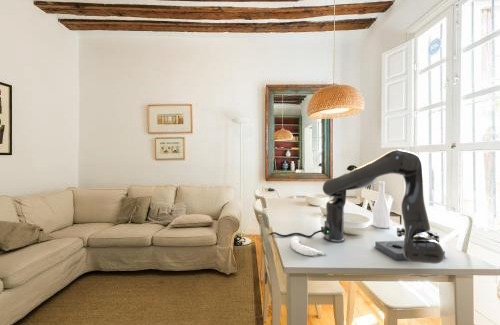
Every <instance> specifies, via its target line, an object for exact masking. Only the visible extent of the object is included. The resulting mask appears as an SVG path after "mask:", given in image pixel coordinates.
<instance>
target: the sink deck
mask: <svg viewBox="0 0 500 325" xmlns="http://www.w3.org/2000/svg"><path fill="white" fill-rule="evenodd" d="M374 243H375V244H374V248H375V249H377V250H378V251H380V252H382V253H384V254H386V255H387V256H389V257H391V258H392V259H393V260H395V261H408V260H407V259H406V258H405V256H404V254H403V244H404V240H385V241H375V242H374ZM443 251H444V259H445V257H446V252H445V250H443Z"/></svg>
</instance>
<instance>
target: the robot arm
mask: <svg viewBox="0 0 500 325" xmlns="http://www.w3.org/2000/svg"><path fill="white" fill-rule="evenodd" d="M389 174H391V175H393V174H394V175H399V176H402V177H403V179H404V183H405V190H404V191H405V192H404V195H403V198H402V201H401V216H402V221H403V225H404V226H403V227H401V228H400V227H396V236H397V237H398V238H399V237H400V238H401V237H404V238H403V241H404V244H403V254H404V256H405V258H406V259H407V260H406V261H408V262H410V263H416V264H417V263H418V264H434V265H436V264H441V263H442V262H443V261H444V260H445V258H444V251H445V250H444V249H443V247H442V246H441V244H440V234H439V233H438V232H434V233H433V232H432V231H430V230H431V225H430V222H429V217H428V213H427V208H426V203H425V197H424V181H423V180H424V179H423V178H424V176H423V163H422V159H421V157H420V156H419V155H418V154H416V153H415V152H411V151H407V150H404V149H403V150H402V149H394V150H390V151H388V152H386V153H385V154H383V155H381V156H380V157H378V158H376V159H374V160H372V161H370V162H368V163H366V164H364V165H362V166H358V167H357V168H356V167H355V168H354V169H351V170H350V171H348V172H346V173H344V174H341V175H339V176H337V177H333V178H331V179H330V178H329V179H327V180H326V181H324V183H323V185H322V192H323V193H324V194H325V195H326V196H328V197H332V198H331V200H328V201H327V202H326V205H325V220H324V226H321V227H320V230H316V231H315V232H313V233H312V234H310V235H306V234H305V233H301V232H291V233H287V234H280V233H278V232H276V231H271V232H270V233H269V236H272V235H277V236H279V237H283V238H286V237H290V236H297V235H298V236H299V235H300V236H302V237H304V238H312V237H314V236H315V235H316V234H319V233H322V234H323V238H324V239H326V240H327V241H328V242H334V243H342V242H344V240H345V238H344V235H345V205H346V201H347V191H352V190H358V189H364V188H366V187H369V186H371V185H373V184H374V183H375V182H376V181H377V179H378V178H379V177H381V176H386V175H389ZM267 284H268V272H265V273H264V285H267Z"/></svg>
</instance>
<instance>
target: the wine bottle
mask: <svg viewBox="0 0 500 325" xmlns="http://www.w3.org/2000/svg"><path fill="white" fill-rule="evenodd" d="M385 185H386V182H385V180H379V181H378V192H377V197H376V199H375V201H374V204H373V207H372V226H373V227H375V228H379V229H388V228H390V215H391V214H390V213H391V212H390V206H389V203H388V200H387V197H386V193H385V192H386V190H385V189H386V188H385V187H386V186H385Z"/></svg>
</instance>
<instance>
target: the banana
mask: <svg viewBox="0 0 500 325" xmlns="http://www.w3.org/2000/svg"><path fill="white" fill-rule="evenodd" d="M300 241H301V239H300V238H299V236H293V237H292V238H291V239H290V246H291V248H292V249H293V250H294V251H295V252H297V253H299V254H300V255H303V256H314V255H316V254H318V255H322V256H324V255H325V253H324V252H323V251H321V250H317V249H315V248H313V247H310V246H308V245H304V244H302V243H300Z"/></svg>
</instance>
